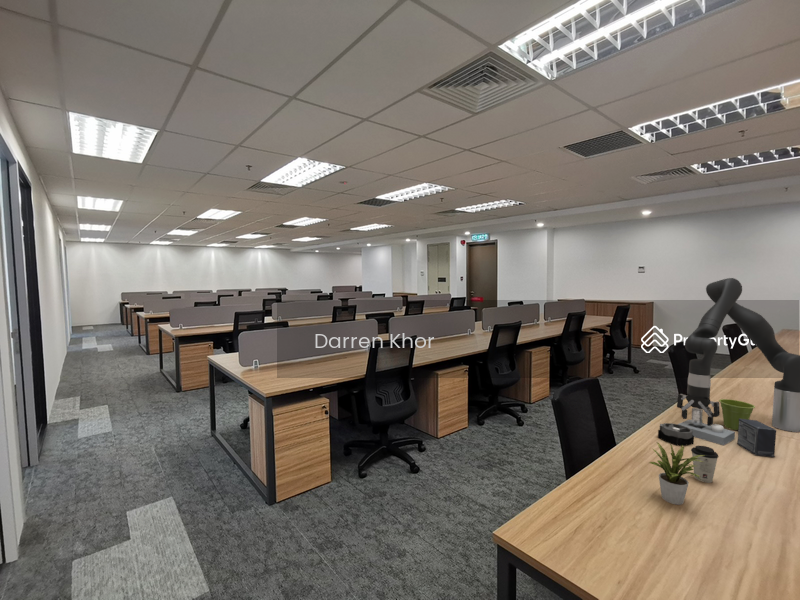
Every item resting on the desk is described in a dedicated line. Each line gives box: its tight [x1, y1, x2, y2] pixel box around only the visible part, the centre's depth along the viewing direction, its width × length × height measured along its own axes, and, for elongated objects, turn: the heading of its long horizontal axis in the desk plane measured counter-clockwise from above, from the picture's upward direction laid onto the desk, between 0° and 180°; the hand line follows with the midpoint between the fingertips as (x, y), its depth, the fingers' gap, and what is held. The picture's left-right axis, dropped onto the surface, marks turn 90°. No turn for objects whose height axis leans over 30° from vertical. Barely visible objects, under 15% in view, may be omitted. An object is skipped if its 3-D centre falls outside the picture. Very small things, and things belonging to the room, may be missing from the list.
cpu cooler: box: [657, 422, 695, 447], centre depth 152 cm, size 10×6×10 cm
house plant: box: [648, 441, 705, 506], centre depth 108 cm, size 14×14×16 cm
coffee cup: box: [690, 445, 719, 484], centre depth 122 cm, size 7×7×10 cm
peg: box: [691, 407, 704, 429], centre depth 160 cm, size 4×4×10 cm
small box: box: [736, 419, 777, 458], centre depth 143 cm, size 11×6×10 cm, turn 168°
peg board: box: [676, 419, 736, 446], centre depth 157 cm, size 12×16×5 cm
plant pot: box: [718, 398, 756, 431], centre depth 165 cm, size 12×12×11 cm
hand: (696, 422), depth 160 cm, fingers open, 8 cm apart
